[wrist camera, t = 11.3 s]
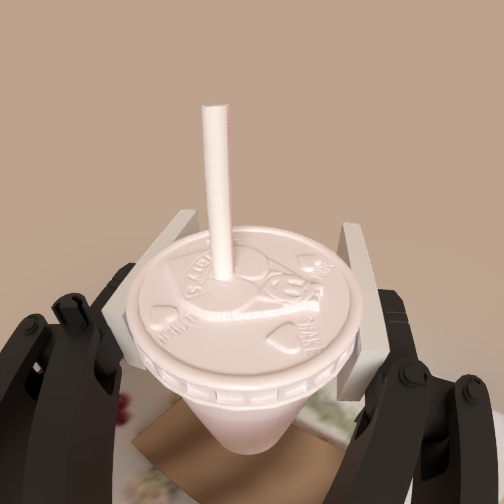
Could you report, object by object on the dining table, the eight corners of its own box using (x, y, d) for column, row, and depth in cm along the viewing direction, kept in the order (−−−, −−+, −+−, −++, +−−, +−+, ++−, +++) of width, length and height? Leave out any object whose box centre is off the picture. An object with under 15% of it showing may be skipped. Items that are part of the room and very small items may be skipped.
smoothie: (214, 361, 16) (184, 99, 8) (320, 388, 15) (387, 112, 7) (166, 452, 11) (7, 155, 3) (292, 492, 9) (482, 180, 2)
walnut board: (134, 445, 22) (130, 441, 21) (210, 377, 30) (209, 372, 29) (300, 560, 12) (303, 561, 12) (367, 465, 20) (372, 462, 19)
